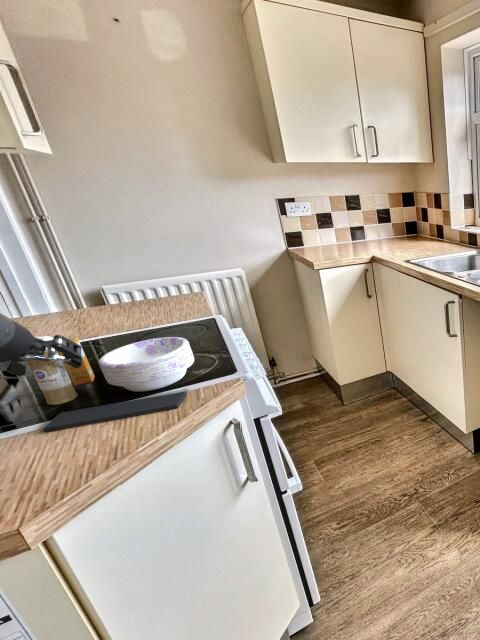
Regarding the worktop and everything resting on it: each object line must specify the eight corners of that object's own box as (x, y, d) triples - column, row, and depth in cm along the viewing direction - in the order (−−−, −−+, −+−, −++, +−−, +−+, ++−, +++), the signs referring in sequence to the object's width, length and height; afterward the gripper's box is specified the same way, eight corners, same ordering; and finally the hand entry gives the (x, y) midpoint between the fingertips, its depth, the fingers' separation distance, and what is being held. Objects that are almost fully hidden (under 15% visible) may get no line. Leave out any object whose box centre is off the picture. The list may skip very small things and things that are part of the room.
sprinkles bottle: (42, 407, 84) (11, 345, 78) (55, 397, 87) (26, 337, 82) (72, 403, 85) (43, 341, 80) (83, 393, 89) (56, 333, 84)
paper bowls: (98, 405, 84) (81, 369, 81) (129, 374, 97) (116, 342, 94) (188, 390, 89) (176, 356, 86) (206, 362, 102) (196, 332, 99)
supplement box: (73, 386, 92) (53, 344, 88) (76, 381, 94) (57, 339, 91) (93, 382, 94) (75, 340, 90) (96, 376, 96) (78, 336, 92)
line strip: (44, 432, 75) (42, 428, 75) (61, 416, 80) (60, 412, 80) (178, 408, 82) (176, 404, 82) (186, 394, 87) (185, 391, 87)
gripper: (41, 307, 74) (97, 344, 88) (-73, 319, 69) (6, 356, 83) (37, 345, 71) (95, 378, 86) (-82, 360, 66) (1, 392, 81)
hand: (51, 367), depth 84 cm, fingers open, 8 cm apart
